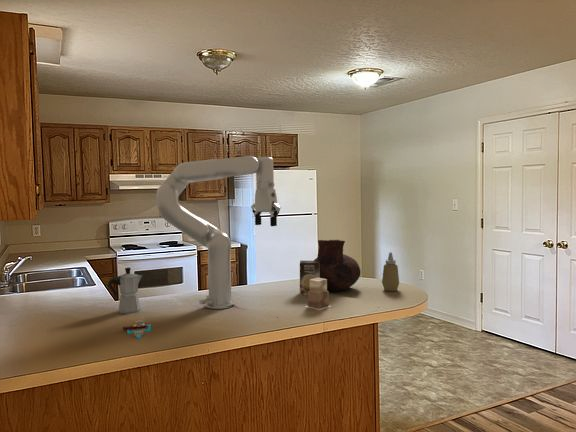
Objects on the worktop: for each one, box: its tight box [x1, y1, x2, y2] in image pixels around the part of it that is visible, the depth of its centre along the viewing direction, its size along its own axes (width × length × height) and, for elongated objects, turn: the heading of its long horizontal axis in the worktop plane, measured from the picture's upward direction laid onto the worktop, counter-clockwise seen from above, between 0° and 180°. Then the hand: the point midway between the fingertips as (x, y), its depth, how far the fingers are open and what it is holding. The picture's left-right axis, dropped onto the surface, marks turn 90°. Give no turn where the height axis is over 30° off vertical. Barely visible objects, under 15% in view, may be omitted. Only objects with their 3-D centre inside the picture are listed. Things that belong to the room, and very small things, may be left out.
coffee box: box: [299, 260, 320, 296], centre depth 210 cm, size 9×6×16 cm
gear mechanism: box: [122, 315, 152, 340], centre depth 166 cm, size 20×5×9 cm
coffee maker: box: [107, 267, 143, 315], centre depth 190 cm, size 15×9×18 cm, turn 134°
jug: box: [313, 239, 361, 292], centre depth 224 cm, size 25×25×25 cm
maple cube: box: [309, 278, 327, 294], centre depth 188 cm, size 5×5×5 cm
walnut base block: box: [307, 291, 330, 310], centre depth 188 cm, size 6×6×6 cm
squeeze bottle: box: [381, 251, 400, 292], centre depth 219 cm, size 8×8×18 cm
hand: (265, 225), depth 201 cm, fingers open, 9 cm apart
